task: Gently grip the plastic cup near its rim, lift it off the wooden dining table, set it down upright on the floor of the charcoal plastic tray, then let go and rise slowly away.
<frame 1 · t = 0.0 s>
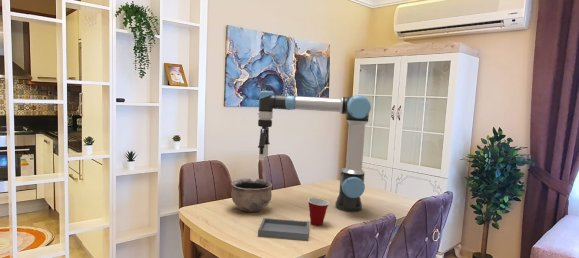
hand: (263, 158, 197), 28 cm above the table, tool pointing down, fingers open, 13 cm apart
ceramic bowl: (250, 210, 195), on the table
cup tray: (284, 231, 166), on the table
plastic cup: (317, 224, 179), on the table
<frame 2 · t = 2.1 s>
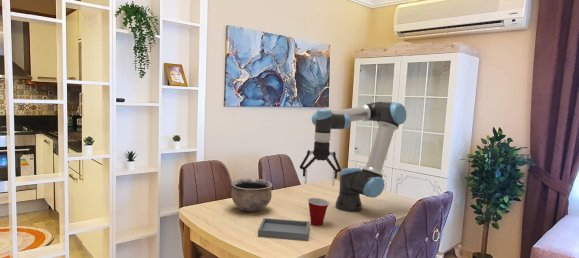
hand: (319, 184, 177), 20 cm above the table, tool pointing down, fingers open, 13 cm apart
nothing on the table moved.
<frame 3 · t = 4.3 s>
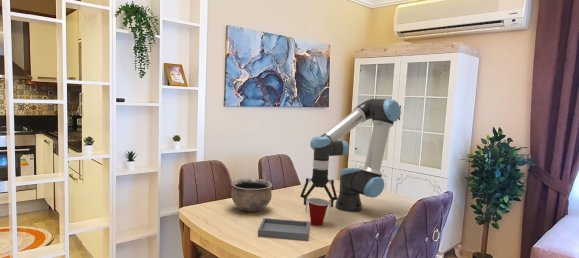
hand: (317, 212, 178), 6 cm above the table, tool pointing down, fingers closed on plastic cup, 11 cm apart
plastic cup: (317, 224, 179), on the table, touching gripper
everything else where it was.
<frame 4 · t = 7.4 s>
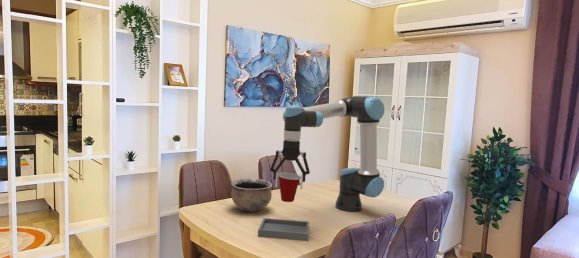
hand: (288, 187, 165), 21 cm above the table, tool pointing down, fingers closed on plastic cup, 11 cm apart
plastic cup: (288, 200, 165), point 14 cm above the table, touching gripper
everything else where it was.
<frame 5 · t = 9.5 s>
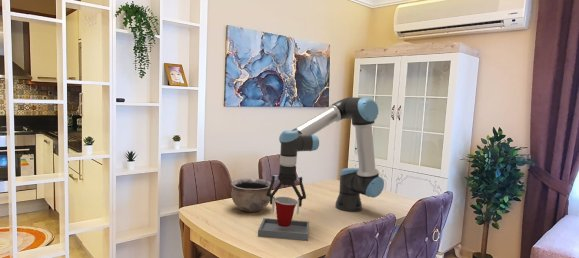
hand: (285, 212, 165), 9 cm above the table, tool pointing down, fingers closed on plastic cup, 11 cm apart
plastic cup: (284, 225, 165), point 3 cm above the table, touching gripper
everything else where it was.
when the fingers open (7 cm above the table, at t = 11.0 s): plastic cup stays where it is, resting on cup tray.
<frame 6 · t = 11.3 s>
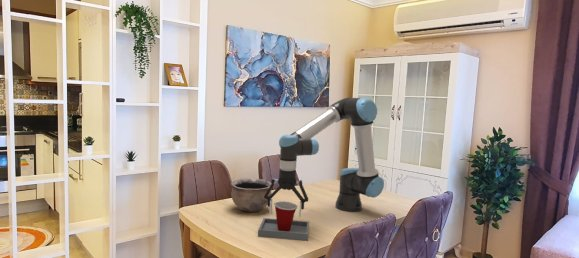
hand: (285, 214, 165), 8 cm above the table, tool pointing down, fingers open, 13 cm apart
plastic cup: (284, 230, 166), point 1 cm above the table, touching cup tray
everything else where it was.
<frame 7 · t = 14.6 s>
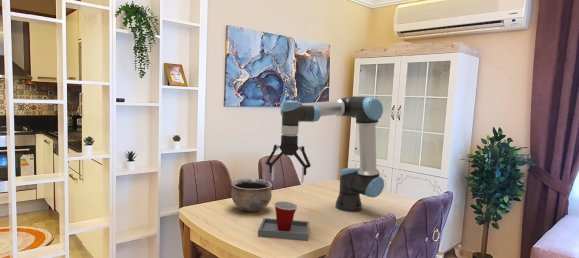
hand: (287, 181, 164), 24 cm above the table, tool pointing down, fingers open, 13 cm apart
nothing on the table moved.
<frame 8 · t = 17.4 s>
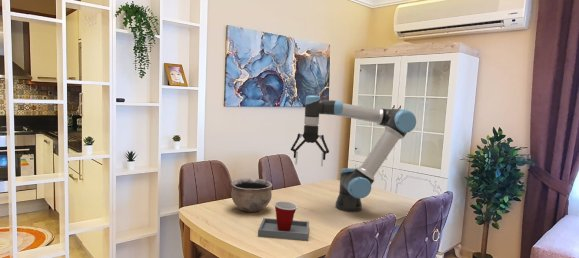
hand: (308, 165, 191), 27 cm above the table, tool pointing down, fingers open, 13 cm apart
nothing on the table moved.
at the end: plastic cup 0.0 cm off-centre on the cup tray, point 0.8 cm above the cup tray's base; plastic cup tilted 0°; the gripper is holding nothing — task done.
